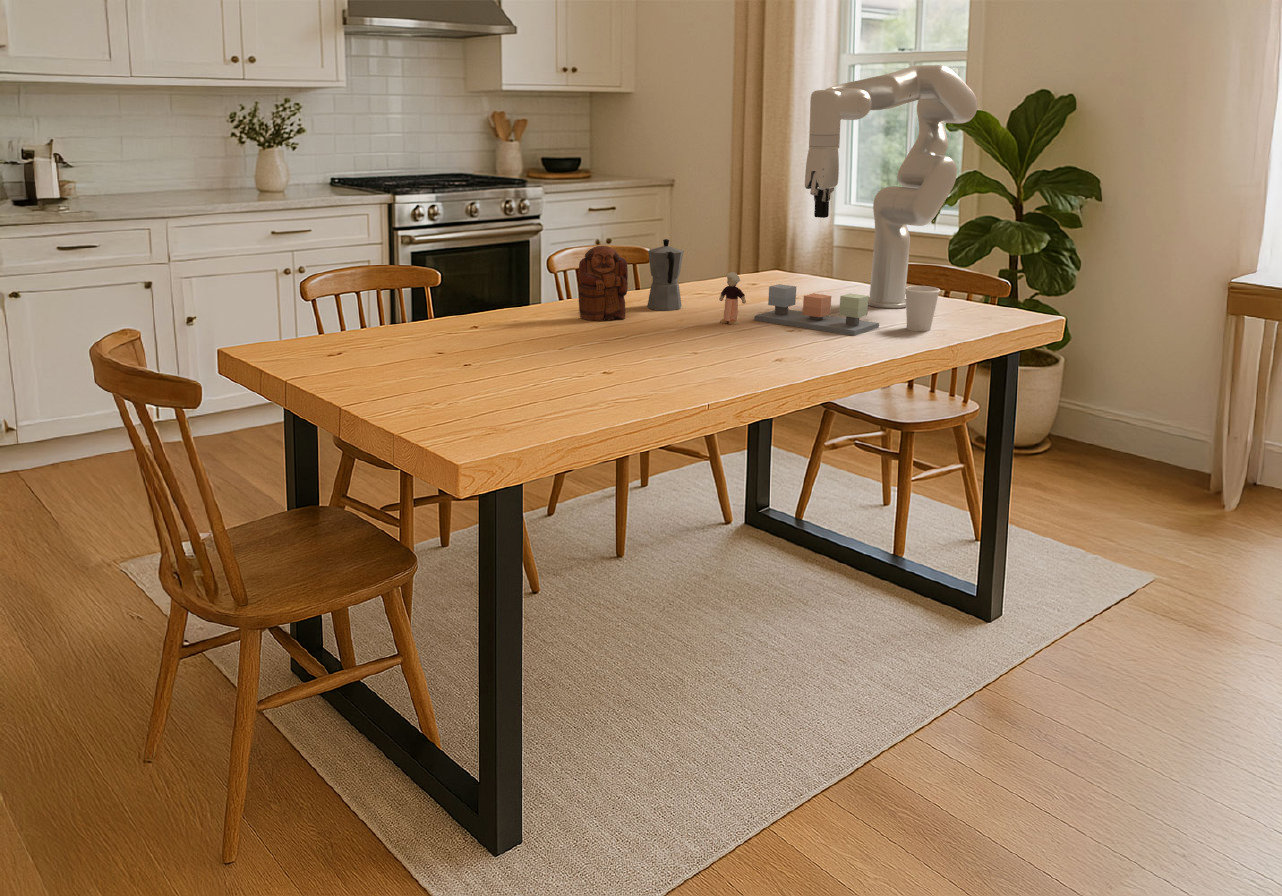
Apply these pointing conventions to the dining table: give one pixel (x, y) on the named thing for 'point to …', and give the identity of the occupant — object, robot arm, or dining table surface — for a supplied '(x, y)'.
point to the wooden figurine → (602, 284)
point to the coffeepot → (665, 278)
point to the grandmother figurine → (731, 299)
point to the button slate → (782, 295)
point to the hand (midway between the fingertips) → (821, 217)
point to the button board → (817, 321)
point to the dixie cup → (920, 307)
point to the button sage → (853, 305)
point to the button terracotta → (816, 305)
